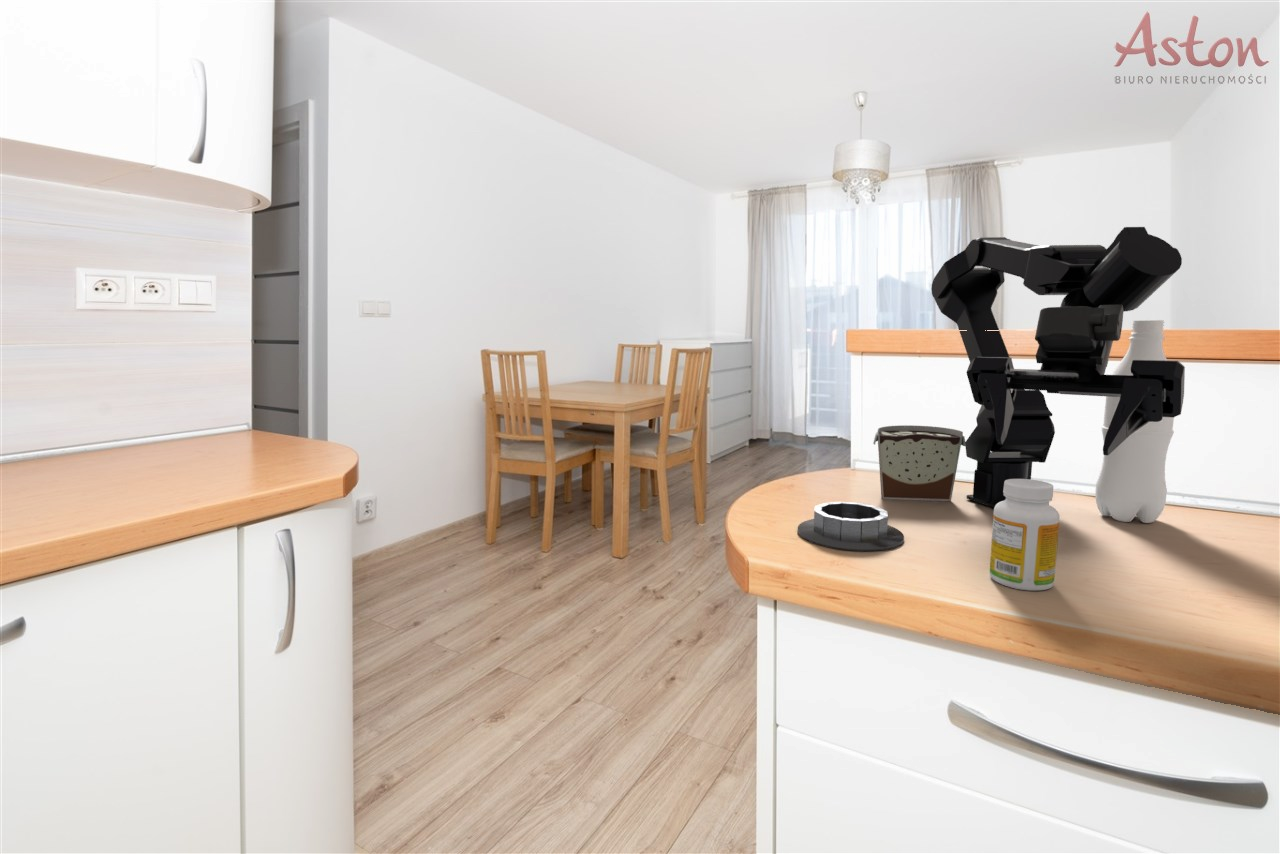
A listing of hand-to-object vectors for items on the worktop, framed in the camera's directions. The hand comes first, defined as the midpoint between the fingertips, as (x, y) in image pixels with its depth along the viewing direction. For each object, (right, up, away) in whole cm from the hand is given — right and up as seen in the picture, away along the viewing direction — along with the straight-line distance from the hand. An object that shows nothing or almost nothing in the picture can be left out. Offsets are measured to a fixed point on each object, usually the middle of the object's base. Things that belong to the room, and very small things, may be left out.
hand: (1049, 447), depth 64 cm
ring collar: (-16, -11, +12) cm, 23 cm away
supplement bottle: (-5, -13, -3) cm, 14 cm away
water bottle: (+21, -10, +18) cm, 30 cm away
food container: (-1, -8, +31) cm, 32 cm away
